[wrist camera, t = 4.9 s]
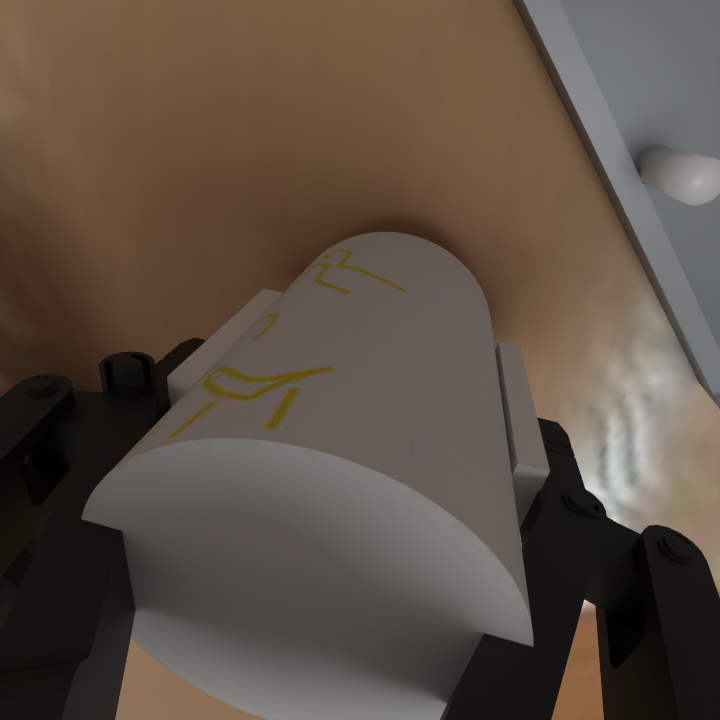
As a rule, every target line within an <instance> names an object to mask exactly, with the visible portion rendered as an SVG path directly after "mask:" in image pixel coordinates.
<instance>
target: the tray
mask: <svg viewBox="0 0 720 720" xmlns="http://www.w3.org/2000/svg"><path fill="white" fill-rule="evenodd" d="M513 2H514V4H515V6H516V8H517V10H518V12H519V14H520V16H521V18H522V20H523V22H524V25H525V27H526V29H527V31H528V33H529V35H530V37H531V39H532V41H533V43H534V45H535V47H536V49H537V51H538V53H539V55H540V57H541V59H542V61H543V63H544V65H545V68H546V70H547V72H548V74H549V76H550V78H551V80H552V82H553V84H554V86H555V88H556V90H557V92H558V94H559V96H560V98H561V100H562V102H563V104H564V106H565V109H566V111H567V113H568V115H569V117H570V119H571V121H572V123H573V125H574V127H575V129H576V131H577V133H578V135H579V137H580V139H581V141H582V143H583V145H584V147H585V149H586V152H587V154H588V156H589V158H590V160H591V162H592V164H593V166H594V168H595V170H596V172H597V174H598V176H599V178H600V180H601V182H602V184H603V186H604V188H605V190H606V192H607V195H608V197H609V199H610V201H611V203H612V205H613V207H614V209H615V211H616V213H617V215H618V217H619V219H620V221H621V223H622V225H623V227H624V229H625V231H626V233H627V236H628V238H629V240H630V242H631V244H632V246H633V248H634V250H635V252H636V254H637V256H638V258H639V260H640V262H641V264H642V266H643V268H644V270H645V272H646V274H647V276H648V279H649V281H650V283H651V285H652V287H653V289H654V291H655V293H656V295H657V297H658V299H659V301H660V303H661V305H662V307H663V309H664V311H665V313H666V315H667V317H668V320H669V322H670V324H671V326H672V328H673V330H674V332H675V334H676V336H677V338H678V340H679V342H680V344H681V346H682V348H683V350H684V352H685V354H686V356H687V358H688V360H689V363H690V365H691V367H692V369H693V371H694V373H695V375H696V377H697V379H698V381H699V383H700V385H701V386H702V387H703V388H704V390H705V391H706V392H707V393H708V395H709V396H710V397H711V398H712V400H713V401H714V402H715V403H716V405H717V406H718V407H719V408H720V0H513Z"/></svg>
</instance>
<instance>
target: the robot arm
mask: <svg viewBox="0 0 720 720" xmlns="http://www.w3.org/2000/svg"><path fill="white" fill-rule="evenodd" d="M281 294H282V292H277V291H273V290H268V289H263V290H262V291H260V292H259V293H258V294H257V295H256V296H255V297H254V298H253V299H252V300H251V301H250V302H248V303H247V304H246V305H245V306H244V307H243V308H242V309H241V310H240V311H239V312H237V313H236V314H235V315H234V316H233V317H232V318H231V319H230V320H229V321H228V322H226V323H225V324H224V325H223V326H222V327H221V328H220V329H219V330H218V331H217V332H216V333H214V334H213V335H212V336H211V337H210V338H209V339H208V340H203V339H199V338H193V339H190V340H188V341H185V342H183V343H180V344H179V345H178V346H177V347H176V348H174V349H173V350H172V351H171V353H169V354H167V355H166V356H165V357H164V359H161V360H160V361H159V362H158V363H157V364H155V360H154V359H153V358H152V357H151V356H150V355H147V354H144V353H141V352H121V353H117V354H113V355H110V356H108V357H106V358H104V359H103V360H102V361H101V362H100V363H99V371H100V377H101V383H102V389H103V392H73V387H72V382H71V380H69V379H68V378H67V377H64V376H61V375H51V374H45V375H38V376H34V377H31V378H28V379H25V380H23V381H21V382H20V383H18V384H16V385H15V386H14V387H13V388H11V389H10V390H9V391H8V392H7V393H5V394H4V395H3V396H2V397H1V398H0V720H115V717H116V711H117V706H118V701H119V696H120V690H121V685H122V680H123V675H124V670H125V664H126V659H127V653H128V649H129V643H130V638H131V633H132V628H133V622H134V617H135V612H136V610H135V604H134V598H133V592H132V586H131V581H130V575H129V569H128V563H127V557H126V552H125V546H124V540H123V534H122V531H121V530H118V529H114V528H111V527H107V526H104V525H100V524H97V523H93V522H90V521H86V520H83V519H81V518H82V514H83V511H84V508H85V505H86V503H87V501H88V499H89V497H90V495H91V494H92V492H93V491H94V489H95V488H96V486H97V485H98V484H99V483H100V482H101V481H102V480H103V478H104V477H105V476H106V475H107V474H108V473H109V472H110V471H111V470H112V469H113V468H114V467H115V466H116V465H117V464H118V463H119V462H120V461H121V460H122V459H123V458H124V457H125V456H126V455H127V454H128V453H129V451H130V450H131V449H132V448H133V447H134V446H135V445H136V444H137V443H138V442H139V441H140V440H141V439H142V438H143V437H144V436H145V435H146V434H147V433H148V432H149V431H150V430H151V429H152V428H153V427H154V426H155V425H156V424H157V423H158V421H159V420H160V419H161V418H162V417H163V416H164V415H165V414H166V413H167V412H168V411H169V410H170V409H171V408H172V407H173V406H174V405H175V404H176V403H177V402H178V401H179V400H180V399H181V398H182V397H183V396H184V395H185V394H186V393H187V392H188V390H189V389H190V388H191V387H192V386H193V385H194V384H195V383H196V382H197V381H198V380H199V379H200V378H201V377H202V376H203V375H204V374H205V373H206V372H207V371H208V370H209V369H210V368H211V367H212V366H213V365H214V364H215V363H216V362H217V361H218V359H219V358H220V357H221V356H222V355H223V354H224V353H225V352H226V351H227V350H228V349H229V348H230V347H231V346H232V345H233V344H234V343H235V342H236V341H237V340H238V339H239V338H240V337H241V336H242V335H243V334H244V333H245V332H246V331H247V329H248V328H249V327H250V326H251V325H252V324H253V323H254V322H255V321H256V320H257V319H258V318H259V317H260V316H261V315H262V314H263V313H264V312H265V311H266V310H267V309H268V308H269V307H270V306H271V305H272V304H273V303H274V302H275V301H276V300H277V298H278V297H279V296H280V295H281ZM495 354H496V361H497V369H498V376H499V384H500V391H501V398H502V406H503V413H504V421H505V428H506V436H507V443H508V451H509V458H510V466H511V473H512V480H513V488H514V495H515V503H516V510H517V518H518V525H519V533H520V535H521V543H522V547H521V548H522V555H523V562H524V570H525V577H526V585H527V592H528V600H529V607H530V615H531V622H532V630H533V647H532V646H528V645H525V644H521V643H518V642H514V641H511V640H507V639H504V638H500V637H497V636H493V635H490V634H486V633H484V635H483V637H482V639H481V641H480V642H479V644H478V646H477V648H476V650H475V652H474V654H473V656H472V658H471V659H470V661H469V663H468V665H467V667H466V669H465V671H464V673H463V675H462V677H461V678H460V680H459V682H458V684H457V686H456V688H455V690H454V692H453V694H452V696H451V697H450V699H449V701H448V703H447V705H446V707H445V709H444V711H443V714H442V716H441V718H440V720H551V718H552V715H553V711H554V707H555V704H556V700H557V697H558V693H559V689H560V686H561V682H562V678H563V675H564V671H565V667H566V664H567V660H568V657H569V653H570V649H571V646H572V642H573V638H574V635H575V631H576V627H577V624H578V620H579V616H580V613H581V609H582V606H583V602H584V599H585V600H587V601H589V602H590V603H592V604H594V605H595V606H596V619H597V633H598V646H599V659H600V672H601V686H602V699H603V712H604V720H720V598H719V595H718V592H717V589H716V586H715V583H714V580H713V577H712V574H711V571H710V568H709V565H708V563H707V560H706V558H705V557H704V555H703V553H702V551H701V550H700V549H699V548H698V547H697V546H696V545H695V544H694V543H693V542H692V541H691V540H689V539H688V538H687V537H685V536H684V535H682V534H681V533H679V532H677V531H675V530H673V529H671V528H668V527H664V526H660V525H652V526H648V527H647V528H646V529H644V530H643V532H642V533H641V534H639V533H637V532H635V531H633V530H631V529H629V528H627V527H625V526H622V525H620V524H618V523H617V522H615V521H613V520H611V519H609V518H608V517H607V516H606V510H605V508H604V506H603V504H602V503H601V502H600V501H599V500H598V499H597V498H596V497H595V496H594V495H593V494H592V493H590V492H589V491H587V490H586V489H585V487H584V483H583V480H582V477H581V474H580V471H579V468H578V465H577V462H576V459H575V458H574V456H575V455H574V452H573V449H572V448H571V447H572V446H571V443H570V440H569V437H568V434H567V433H566V432H565V431H564V429H563V428H562V427H561V426H560V425H559V424H558V422H554V421H549V420H545V419H541V418H537V415H536V411H535V407H534V402H533V398H532V394H531V390H530V386H529V382H528V378H527V373H526V369H525V365H524V361H523V357H522V353H521V348H520V346H519V345H515V344H510V343H506V342H501V341H499V342H498V344H497V347H496V350H495Z"/></svg>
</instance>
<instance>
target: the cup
mask: <svg viewBox="0 0 720 720" xmlns="http://www.w3.org/2000/svg"><path fill="white" fill-rule="evenodd" d="M81 519H83V520H86V521H90V522H93V523H97V524H100V525H104V526H107V527H111V528H114V529H118V530H121V531H122V534H123V540H124V546H125V552H126V557H127V563H128V569H129V575H130V581H131V586H132V592H133V598H134V604H135V610H136V612H135V617H134V622H133V628H132V633H131V638H132V639H133V640H134V641H135V642H136V643H137V644H138V645H139V646H140V647H141V648H142V649H144V650H145V651H146V652H147V653H148V654H149V655H151V656H152V657H153V658H154V659H155V660H157V661H158V662H159V663H161V664H162V665H163V666H165V667H166V668H168V669H169V670H170V671H172V672H173V673H175V674H176V675H177V676H179V677H181V678H182V679H184V680H185V681H187V682H188V683H190V684H192V685H194V686H195V687H197V688H198V689H200V690H202V691H204V692H206V693H208V694H209V695H211V696H213V697H215V698H217V699H220V700H221V701H223V702H226V703H228V704H230V705H232V706H234V707H236V708H239V709H241V710H243V711H246V712H248V713H251V714H253V715H256V716H259V717H261V718H264V719H267V720H440V718H441V716H442V714H443V711H444V709H445V707H446V705H447V703H448V701H449V699H450V697H451V696H452V694H453V692H454V690H455V688H456V686H457V684H458V682H459V680H460V678H461V677H462V675H463V673H464V671H465V669H466V667H467V665H468V663H469V661H470V659H471V658H472V656H473V654H474V652H475V650H476V648H477V646H478V644H479V642H480V641H481V639H482V637H483V635H484V633H486V634H490V635H493V636H497V637H500V638H504V639H507V640H511V641H514V642H518V643H521V644H525V645H528V646H532V647H533V630H532V622H531V615H530V607H529V600H528V592H527V585H526V577H525V570H524V562H523V555H522V548H521V540H520V533H519V525H518V518H517V510H516V503H515V495H514V488H513V480H512V473H511V466H510V458H509V451H508V443H507V436H506V428H505V421H504V413H503V406H502V398H501V391H500V384H499V376H498V369H497V361H496V354H495V346H494V339H493V331H492V324H491V317H490V311H489V307H488V304H487V301H486V298H485V295H484V293H483V291H482V289H481V287H480V285H479V284H478V282H477V280H476V279H475V277H474V276H473V275H472V273H471V272H470V271H469V270H468V268H467V267H466V266H465V265H464V264H463V263H462V262H461V261H460V260H458V259H457V258H456V257H455V256H454V255H452V254H451V253H450V252H448V251H447V250H445V249H444V248H442V247H440V246H438V245H437V244H435V243H433V242H430V241H428V240H426V239H423V238H420V237H417V236H413V235H409V234H404V233H397V232H373V233H366V234H361V235H357V236H354V237H351V238H348V239H346V240H343V241H341V242H339V243H337V244H335V245H333V246H332V247H330V248H329V249H327V250H326V251H325V252H323V253H322V254H321V255H320V256H318V257H317V258H316V259H315V260H314V261H313V262H312V263H311V264H310V265H309V266H308V267H307V269H306V270H305V271H304V272H303V273H302V274H301V275H300V276H299V277H298V278H297V279H296V280H295V281H294V282H293V283H292V284H291V285H290V286H289V287H288V288H287V289H286V290H285V291H284V292H283V293H282V294H281V295H280V296H279V297H278V298H277V300H276V301H275V302H274V303H273V304H272V305H271V306H270V307H269V308H268V309H267V310H266V311H265V312H264V313H263V314H262V315H261V316H260V317H259V318H258V319H257V320H256V321H255V322H254V323H253V324H252V325H251V326H250V327H249V328H248V329H247V331H246V332H245V333H244V334H243V335H242V336H241V337H240V338H239V339H238V340H237V341H236V342H235V343H234V344H233V345H232V346H231V347H230V348H229V349H228V350H227V351H226V352H225V353H224V354H223V355H222V356H221V357H220V358H219V359H218V361H217V362H216V363H215V364H214V365H213V366H212V367H211V368H210V369H209V370H208V371H207V372H206V373H205V374H204V375H203V376H202V377H201V378H200V379H199V380H198V381H197V382H196V383H195V384H194V385H193V386H192V387H191V388H190V389H189V390H188V392H187V393H186V394H185V395H184V396H183V397H182V398H181V399H180V400H179V401H178V402H177V403H176V404H175V405H174V406H173V407H172V408H171V409H170V410H169V411H168V412H167V413H166V414H165V415H164V416H163V417H162V418H161V419H160V420H159V421H158V423H157V424H156V425H155V426H154V427H153V428H152V429H151V430H150V431H149V432H148V433H147V434H146V435H145V436H144V437H143V438H142V439H141V440H140V441H139V442H138V443H137V444H136V445H135V446H134V447H133V448H132V449H131V450H130V451H129V453H128V454H127V455H126V456H125V457H124V458H123V459H122V460H121V461H120V462H119V463H118V464H117V465H116V466H115V467H114V468H113V469H112V470H111V471H110V472H109V473H108V474H107V475H106V476H105V477H104V478H103V480H102V481H101V482H100V483H99V484H98V485H97V486H96V488H95V489H94V491H93V492H92V494H91V495H90V497H89V499H88V501H87V503H86V505H85V508H84V511H83V514H82V518H81Z"/></svg>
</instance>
